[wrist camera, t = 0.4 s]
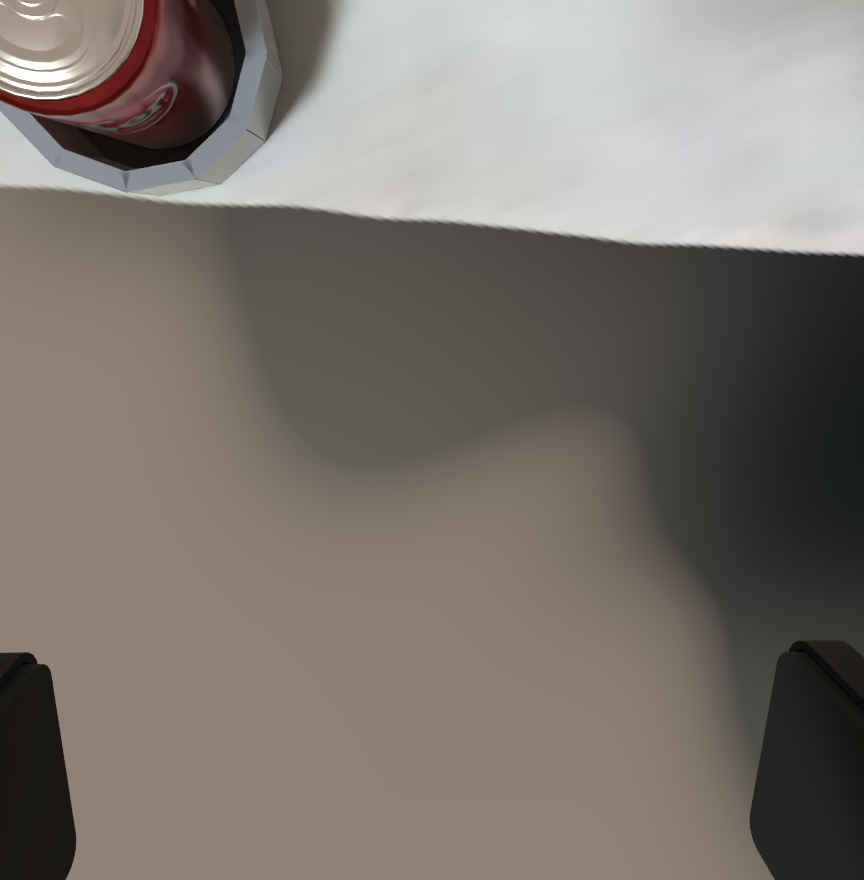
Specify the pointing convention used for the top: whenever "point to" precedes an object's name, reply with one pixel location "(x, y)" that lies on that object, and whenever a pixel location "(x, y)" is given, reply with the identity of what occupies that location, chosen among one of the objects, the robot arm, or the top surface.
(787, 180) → the top surface
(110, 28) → the soda can
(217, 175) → the holder
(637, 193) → the top surface
